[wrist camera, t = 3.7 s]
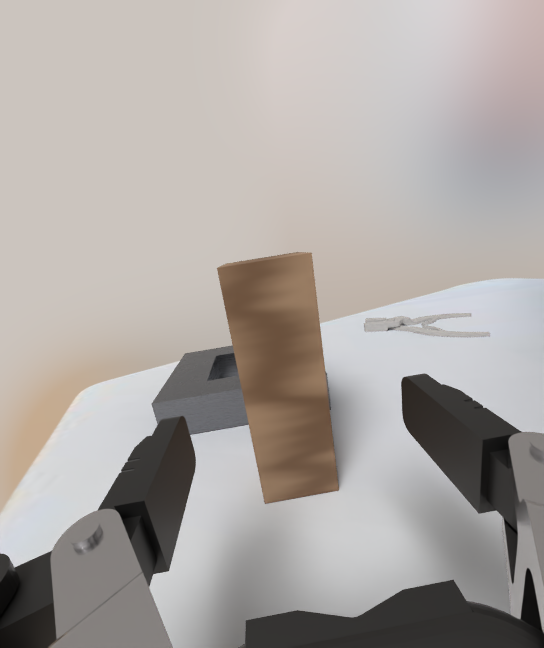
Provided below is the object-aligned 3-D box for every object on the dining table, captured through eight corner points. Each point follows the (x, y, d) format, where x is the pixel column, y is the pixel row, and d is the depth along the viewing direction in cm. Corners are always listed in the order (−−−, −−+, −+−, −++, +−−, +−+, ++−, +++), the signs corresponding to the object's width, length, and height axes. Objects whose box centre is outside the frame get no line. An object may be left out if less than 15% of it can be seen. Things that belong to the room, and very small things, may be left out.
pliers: (490, 327, 34) (362, 331, 40) (490, 339, 35) (362, 341, 41) (470, 307, 43) (366, 312, 49) (470, 317, 43) (367, 321, 49)
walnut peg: (321, 441, 21) (297, 252, 18) (338, 490, 17) (311, 252, 13) (262, 451, 21) (226, 263, 18) (264, 503, 17) (216, 267, 13)
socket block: (306, 359, 36) (302, 333, 36) (330, 409, 25) (326, 374, 24) (191, 378, 36) (185, 353, 35) (162, 439, 25) (151, 404, 24)
